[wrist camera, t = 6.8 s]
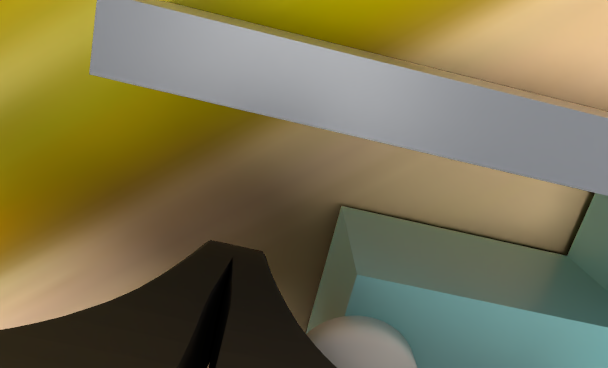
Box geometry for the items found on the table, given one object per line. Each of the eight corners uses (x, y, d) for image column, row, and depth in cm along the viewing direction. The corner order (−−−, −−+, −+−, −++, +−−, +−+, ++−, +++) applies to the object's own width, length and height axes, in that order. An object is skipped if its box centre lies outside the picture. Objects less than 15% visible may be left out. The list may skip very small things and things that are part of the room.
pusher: (531, 449, 15) (642, 654, 10) (260, 399, 14) (240, 591, 9) (658, 189, 12) (888, 297, 7) (334, 112, 12) (359, 177, 7)
